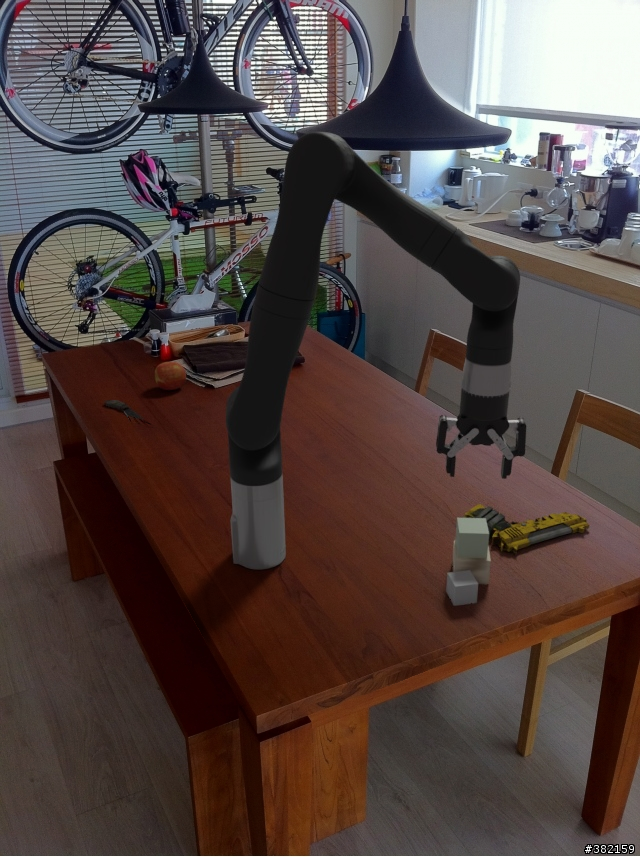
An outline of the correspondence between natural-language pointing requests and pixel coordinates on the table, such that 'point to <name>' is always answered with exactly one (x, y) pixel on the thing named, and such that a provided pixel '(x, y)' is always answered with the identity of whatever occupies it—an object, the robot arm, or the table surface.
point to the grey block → (462, 587)
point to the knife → (122, 408)
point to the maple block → (473, 566)
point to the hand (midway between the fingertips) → (477, 475)
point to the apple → (170, 375)
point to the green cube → (472, 538)
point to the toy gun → (526, 527)
